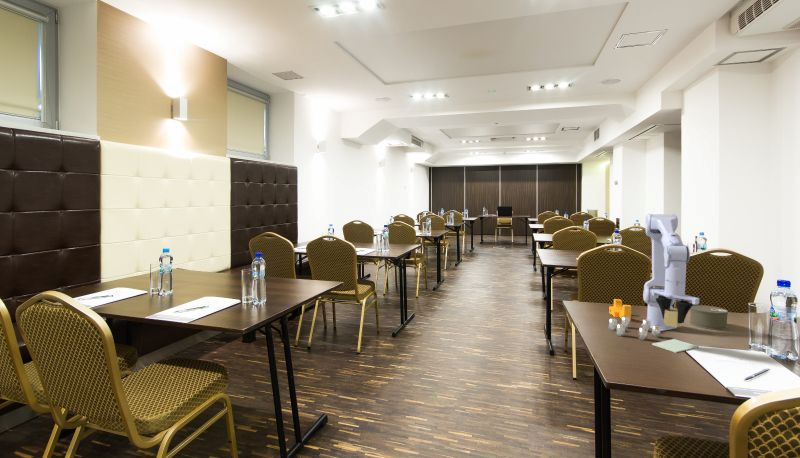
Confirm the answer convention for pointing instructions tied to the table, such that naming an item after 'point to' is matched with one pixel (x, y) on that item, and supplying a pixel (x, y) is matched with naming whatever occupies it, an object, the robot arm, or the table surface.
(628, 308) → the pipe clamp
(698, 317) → the can
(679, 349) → the pad
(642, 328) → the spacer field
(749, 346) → the table surface
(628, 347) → the table surface
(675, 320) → the brass nut
